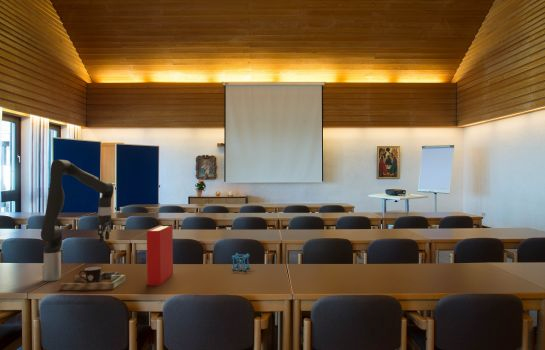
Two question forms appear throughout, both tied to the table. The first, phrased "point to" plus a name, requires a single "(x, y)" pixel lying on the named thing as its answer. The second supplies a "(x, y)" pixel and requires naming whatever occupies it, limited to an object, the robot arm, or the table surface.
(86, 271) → the coffee mug
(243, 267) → the molecular structure
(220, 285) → the table surface
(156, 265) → the book
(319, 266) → the table surface
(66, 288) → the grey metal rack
